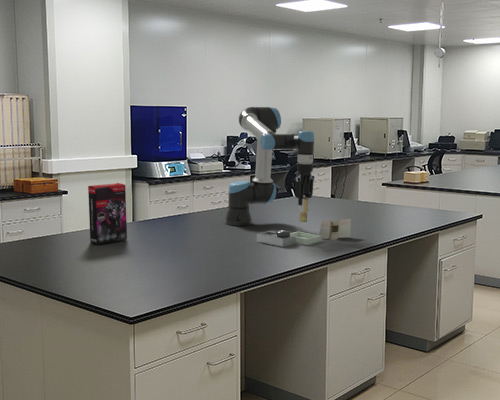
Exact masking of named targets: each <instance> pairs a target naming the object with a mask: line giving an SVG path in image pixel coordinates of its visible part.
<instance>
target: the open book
mask: <svg viewBox="0 0 500 400" xmlns="http://www.w3.org/2000/svg"><path fill="white" fill-rule="evenodd" d="M351 226H352V218H340V219H339V221H338V220H336V221H332V220H331V219H326V220H325V219H324V220H321V224H320V227H319V228H320V229H319V233H318V235H320V236H321V240H327V239H329V241H330V240H332V241H333V240H338V239H340V238H342V239H343V238H344V239H345V238H351V233H352V231H351V230H352V228H351Z"/></svg>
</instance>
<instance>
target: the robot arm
mask: <svg viewBox="0 0 500 400" xmlns="http://www.w3.org/2000/svg"><path fill="white" fill-rule="evenodd" d="M239 113H240V114H239V115H238V124H239V125H240V127H241V129H243V130H244V131H247V132H249V133H251V134H252V135H253V136H254V137H255V138H256V139H257V143H256V156H255V157H256V159H255V161H256V162H255V174H254V176H255V177H253V178H251V179H252V180H251V181H249V180H239V181H234V182H231V183H230V184H229V186H228V191H227V192H228V209H227V213H226V216H225V218H224V223H225V224H226V225H229V226H243V227H244V226H251V225H252V224H253V218H252V216H251V212H250V205H261V204H263V205H266V204H271V203H273V201H274V200H275V199H276V196H277V186H276V183H274V180H273V179H272V178H271V176H272V174H271V172H272V160H273V159H272V158H273V150H275V151H281V150H286V151H287V150H289V151H291V150H293V151H294V150H297V158H296V159H297V161H296V162H297V165H296V168H297V169H296V171H297V172H298V176H297V177H294V183H295V188H294V189H295V198H296V199H297V200H298V203H297V205H298V206H297V207H298V208H297V209H298V210H297V212H299V213H300V212H304V199H303V197H308V204H307V212H309V210H310V198H312V197H313V192H314V180H315V175H312V172H313V171H314V164H313V163H314V148H315V147H314V146H315V133H314V131H311V130H309V131H308V130H299V131H298V133H288V134H287V133H285V134H284V133H283V134H282V133H281V134H279V133H278V134H277V130H278V129H280V128H281V125H282V116H281V113H280V111H279V110H278V109H277V108H276V107H271V106H251V107H250V106H249V107H246V108H244V109H242V111H241V112H239Z"/></svg>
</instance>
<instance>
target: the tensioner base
mask: <svg viewBox="0 0 500 400" xmlns="http://www.w3.org/2000/svg"><path fill="white" fill-rule="evenodd" d="M290 233H291V231H289V230H283V229H281V230H275V231H273V230H267V231H261V232H258V233H256V242H257V243H261V244H265V245H272V246H274V247H275V246H276V247H280V248H285V247H289V246H293V245H296V243H295V241H296V236H295V235H290Z"/></svg>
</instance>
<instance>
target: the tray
mask: <svg viewBox="0 0 500 400" xmlns="http://www.w3.org/2000/svg"><path fill="white" fill-rule="evenodd" d="M290 235H295V236H296V241H295V244H297V245H301V246H302V245H303V246H311V245H314V244H318V243H321V242H322V239H321V236H320V235H319V234H316V233H315V234H314V233H308V232H303V231H295V232H290Z"/></svg>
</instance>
